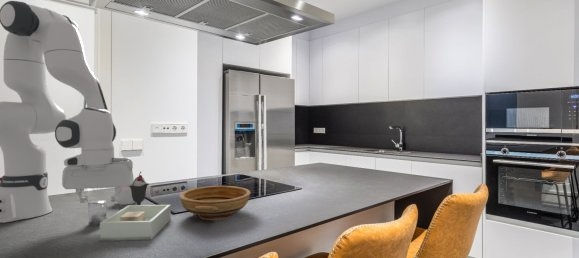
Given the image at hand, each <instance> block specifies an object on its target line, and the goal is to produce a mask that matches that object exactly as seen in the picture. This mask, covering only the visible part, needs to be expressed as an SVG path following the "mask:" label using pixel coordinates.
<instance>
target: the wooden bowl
mask: <svg viewBox="0 0 579 258" xmlns="http://www.w3.org/2000/svg"><path fill="white" fill-rule="evenodd" d="M251 193H252V192H251V190H249V189H248V188H245V187H240V186H233V185H211V186H210V185H208V186H200V187H196V188H190V189H187V190H184V191H183V192H181V193H179V195H178V196H179V199H180V202H181V203H180V204H181V205H182V207H183V208H184V210H186V212H189V213H191V214H193V215H198V216H199V219H202V220H205V221H220V220H226V219H229V218H230V217H231V216H232V215H233V213H236V212H238V211H240V210H241V209H243V208H244V207H246V205H247V204H248V202H249V199H250V196H251Z"/></svg>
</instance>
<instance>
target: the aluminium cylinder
mask: <svg viewBox="0 0 579 258" xmlns="http://www.w3.org/2000/svg"><path fill="white" fill-rule="evenodd" d="M87 203H88V204H87V207H88V210H87V211H88V212H87V213H88V215H87V216H88V217H87V218H88V219H87V223H88V225H87V226H89V227H100V222H102V221H103V220H105V219H107V218H108V217H107V216H108V207H107V206H108V204H107V203H108V201H107V200H105V199H99V200H98V199H97V200H92V201H88V202H87Z"/></svg>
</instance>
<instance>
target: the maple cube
mask: <svg viewBox="0 0 579 258" xmlns="http://www.w3.org/2000/svg"><path fill="white" fill-rule="evenodd" d="M120 221H145V212H127V213H125V214H124V215H122V216H121V217H120Z"/></svg>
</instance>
